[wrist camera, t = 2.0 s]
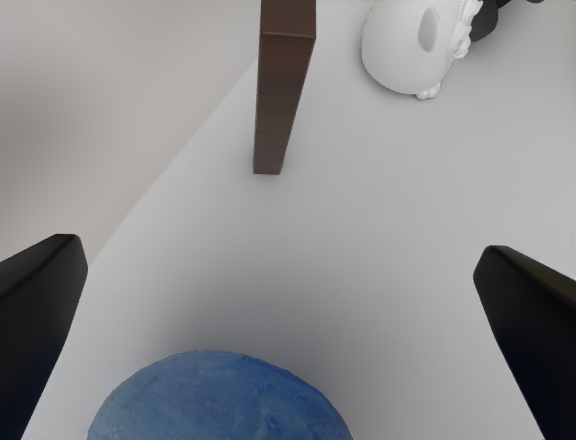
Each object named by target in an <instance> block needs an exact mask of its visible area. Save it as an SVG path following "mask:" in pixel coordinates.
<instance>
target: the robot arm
mask: <svg viewBox="0 0 576 440" xmlns="http://www.w3.org/2000/svg"><path fill="white" fill-rule="evenodd" d="M87 273H88V265H87V261H86V257H85V254H84V250H83V247H82V243H81V240H80V238H79V236H77V235H75V234H55V235H53V236H50V237H49V238H47V239H45V240H43V241H41V242H39V243H37V244H35V245H33V246H31V247H29V248H27V249H25V250H23V251H21V252H19V253H17V254H15V255H13V256H12V257H10V258H8V259H6V260H4V261H2V262H0V440H21V438H22V436H23V434H24V431H25V429H26V427H27V425H28V423H29V420H30V418H31V416H32V414H33V412H34V410H35V407H36V405H37V403H38V401H39V399H40V397H41V394H42V392H43V390H44V388H45V386H46V383H47V381H48V379H49V377H50V375H51V373H52V370H53V368H54V366H55V364H56V362H57V360H58V357H59V355H60V353H61V351H62V348H63V346H64V344H65V341H66V339H67V336H68V333H69V330H70V327H71V324H72V321H73V318H74V315H75V312H76V309H77V306H78V303H79V299H80V296H81V293H82V290H83V287H84V284H85V281H86V278H87ZM473 280H474V284H475V287H476V289H477V292H478V295H479V297H480V300H481V303H482V305H483V308H484V311H485V313H486V316H487V319H488V321H489V324H490V327H491V329H492V332H493V334H494V337H495V339H496V341H497V344H498V346H499V348H500V350H501V352H502V354H503V356H504V358H505V360H506V362H507V364H508V366H509V368H510V370H511V372H512V374H513V376H514V378H515V380H516V382H517V384H518V386H519V388H520V390H521V392H522V394H523V396H524V398H525V400H526V402H527V404H528V406H529V408H530V410H531V412H532V414H533V416H534V418H535V420H536V422H537V424H538V426H539V428H540V431H541V433H542V435H543V437H544V439H545V440H576V281H575V280H573V279H571V278H569V277H567V276H565V275H563V274H561V273H559V272H557V271H555V270H553V269H551V268H549V267H547V266H545V265H543V264H542V263H540V262H538V261H536V260H534V259H532V258H530V257H528V256H526V255H524V254H522V253H520V252H518V251H516V250H514V249H512V248H510V247H508V246H499V245H490V246H488V247H486V248H485V250H484V251H483V253H482V256H481V258H480V260H479V262H478V264H477V266H476V268H475V271H474V274H473Z"/></svg>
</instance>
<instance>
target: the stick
mask: <svg viewBox="0 0 576 440" xmlns="http://www.w3.org/2000/svg"><path fill="white" fill-rule="evenodd" d="M315 41H316V0H261V17H260V36H259V56H258V76H257V95H256V115H255V135H254V158H253V173H256V174H280V171H281V167H282V164H283V160H284V156H285V152H286V149H287V145H288V141H289V138H290V134H291V130H292V126H293V123H294V119H295V115H296V111H297V108H298V104H299V100H300V96H301V93H302V89H303V85H304V82H305V78H306V74H307V70H308V67H309V63H310V59H311V55H312V52H313V48H314V44H315Z"/></svg>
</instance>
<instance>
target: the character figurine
mask: <svg viewBox="0 0 576 440" xmlns="http://www.w3.org/2000/svg"><path fill="white" fill-rule="evenodd" d="M478 1H483V4H482V6H481V8H480V10H479V11H478V13H477V14H476V15H474V17H473V19H472V22H471V25H470V26H471V27H472V29H471V31H470V33H469V35H468V36H469V37H470V40H471V42H475V41H478V40H480V39H481V38H483V37H485V36H486V35H488V34H489V33H491V32H492V31H493V30H494V29H495V27H496V25H497V21H498V9H499V8H501V7H502V6H504V5H505V4H506V3H508V2H509V1H511V0H478ZM527 1H529V2H531V3H540V2H542V1H544V0H527Z"/></svg>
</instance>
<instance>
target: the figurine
mask: <svg viewBox="0 0 576 440" xmlns="http://www.w3.org/2000/svg"><path fill="white" fill-rule="evenodd" d="M482 4H483V1H478V0H376V1H375V3H374V5H373V6H372V8H371V10H370V12H369V14H368V17H367V19H366V22H365V25H364V29H363V35H362V46H361V50H362V60H363V64H364V66H365V68H366V70H367V71H368V73H369V74H370V75H371V76H372V77H373V78H374V79H375V80H376V81H377V82H378V83H380V84H381V85H383V86H384V87H386V88H388V89H390V90H393V91H396V92H399V93H404V94H416V96H417V98H419V99H422V100H423V99H426V98H434V97H436V95H437V94H438V91H439V89H440V88H441V82H440V81H441V80H442V79H443V78H444V77H445V76H446V74H447V73H448V71H449V70H450V68H451V66H452V64H453V62H454V60H459V59H461V58H463V57H464V56H465V55H466V54H467V53H468V47H469V46H470V43H471V40H470V37H469V36H468V35H469V33H470V31H471V29H472V27H471V26H470V25H471V22H472V19H473V17H474V15H476V14H477V13H478V11H479V10H480V8H481V6H482Z"/></svg>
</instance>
